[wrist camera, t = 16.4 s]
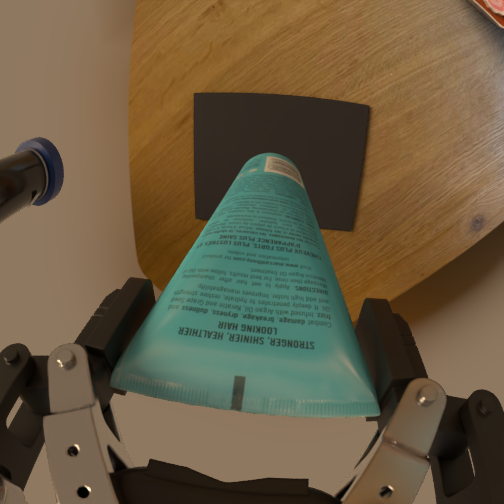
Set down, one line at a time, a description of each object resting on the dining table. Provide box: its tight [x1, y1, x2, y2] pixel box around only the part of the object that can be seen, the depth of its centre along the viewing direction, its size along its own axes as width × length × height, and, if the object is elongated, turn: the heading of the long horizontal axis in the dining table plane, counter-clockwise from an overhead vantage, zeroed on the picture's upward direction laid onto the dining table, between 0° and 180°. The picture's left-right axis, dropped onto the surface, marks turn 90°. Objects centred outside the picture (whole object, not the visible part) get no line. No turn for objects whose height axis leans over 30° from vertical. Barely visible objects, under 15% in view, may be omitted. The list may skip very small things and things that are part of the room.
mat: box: [194, 93, 369, 231], centre depth 35 cm, size 20×16×1 cm
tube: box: [110, 153, 381, 418], centre depth 15 cm, size 7×5×19 cm, turn 92°
